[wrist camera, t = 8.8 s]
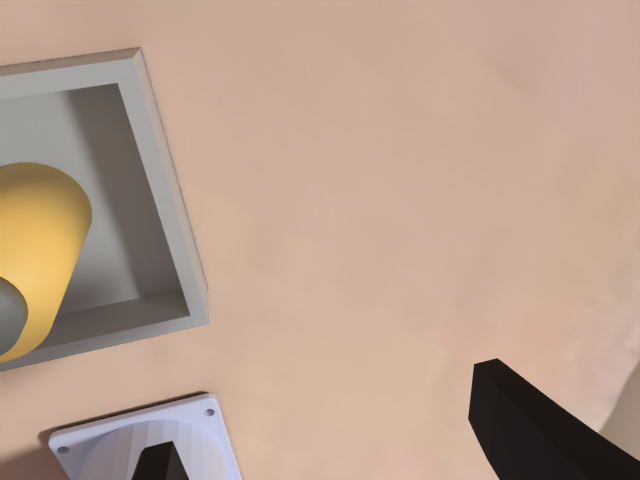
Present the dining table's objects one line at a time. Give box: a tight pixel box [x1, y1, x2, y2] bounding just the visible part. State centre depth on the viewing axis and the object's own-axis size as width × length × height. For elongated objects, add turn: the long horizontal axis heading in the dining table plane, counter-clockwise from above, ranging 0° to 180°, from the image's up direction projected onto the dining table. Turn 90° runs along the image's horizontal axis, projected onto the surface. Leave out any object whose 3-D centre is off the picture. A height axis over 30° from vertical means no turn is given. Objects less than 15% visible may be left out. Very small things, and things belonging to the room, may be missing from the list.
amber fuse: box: [0, 162, 92, 363], centre depth 14 cm, size 4×4×7 cm
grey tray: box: [0, 47, 210, 372], centre depth 16 cm, size 10×10×2 cm
